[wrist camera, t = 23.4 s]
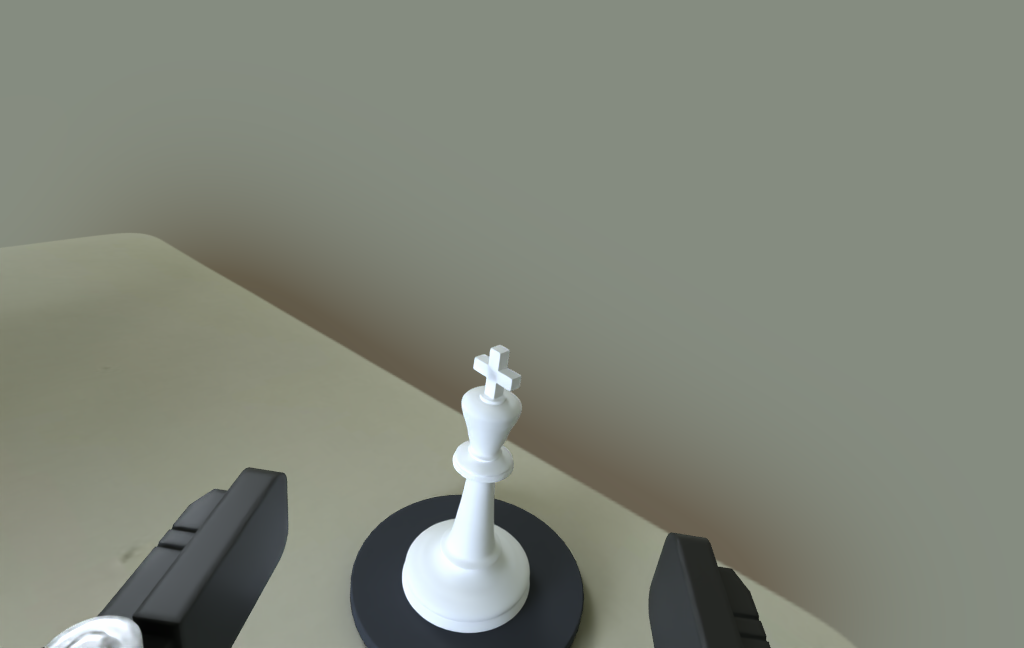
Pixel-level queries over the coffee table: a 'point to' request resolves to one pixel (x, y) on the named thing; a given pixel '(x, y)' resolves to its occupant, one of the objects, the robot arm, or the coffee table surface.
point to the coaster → (420, 644)
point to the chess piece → (474, 521)
